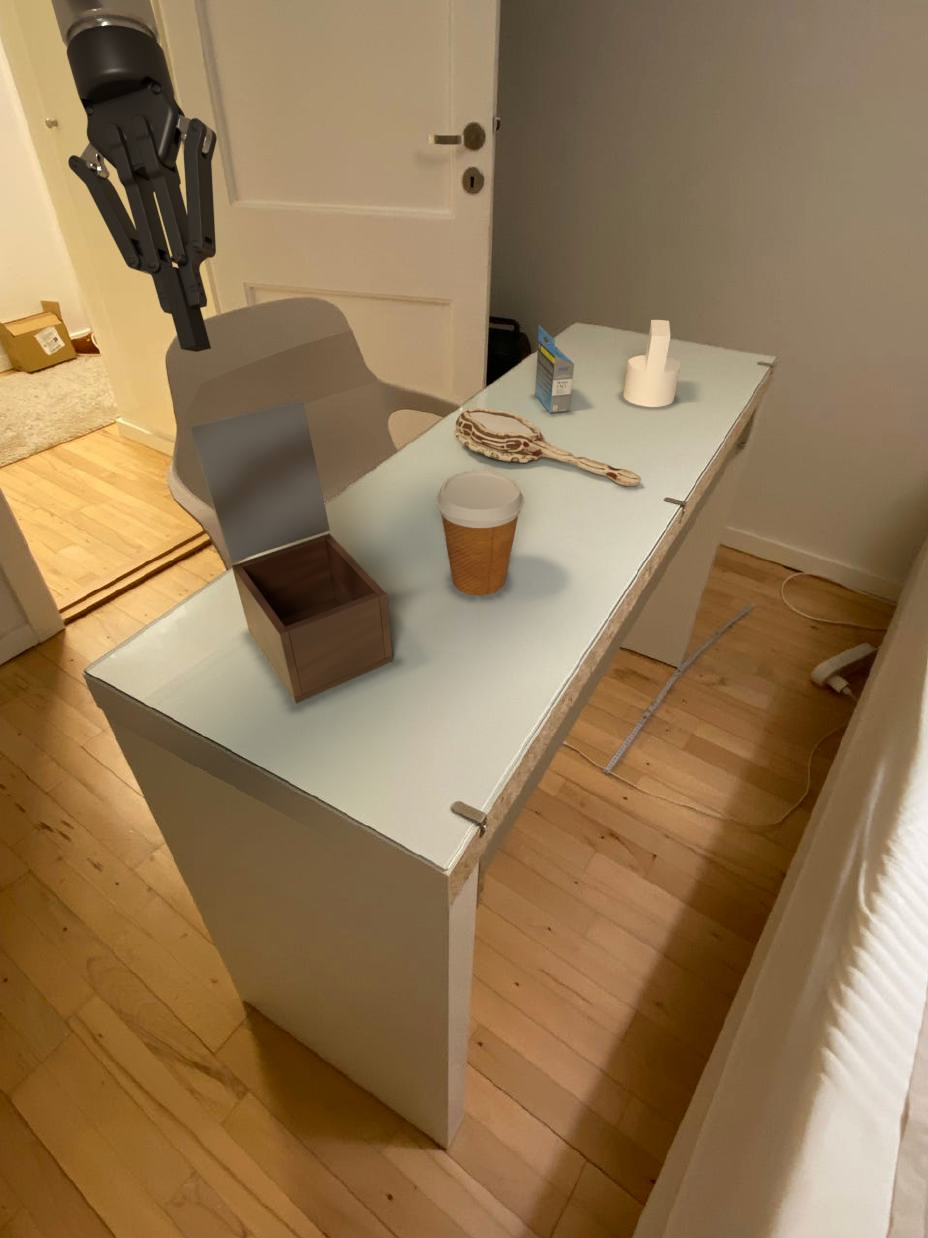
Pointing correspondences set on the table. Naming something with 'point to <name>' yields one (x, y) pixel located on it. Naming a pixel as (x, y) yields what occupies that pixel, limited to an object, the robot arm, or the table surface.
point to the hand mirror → (522, 442)
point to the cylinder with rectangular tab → (653, 371)
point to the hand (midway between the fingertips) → (196, 348)
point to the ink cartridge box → (553, 375)
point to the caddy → (314, 615)
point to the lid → (261, 478)
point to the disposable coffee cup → (479, 528)
